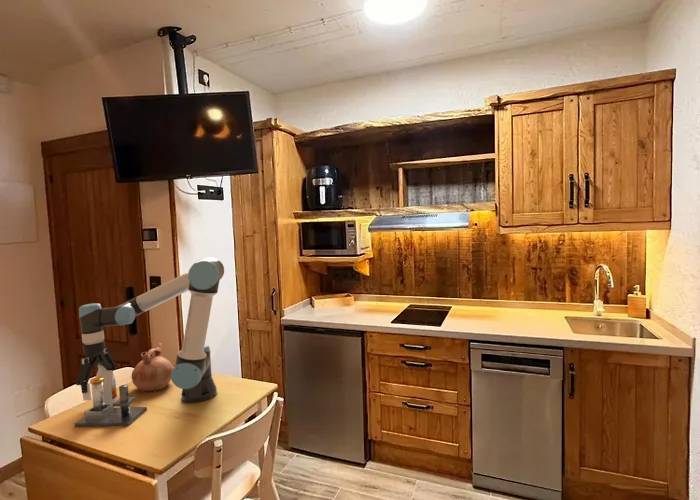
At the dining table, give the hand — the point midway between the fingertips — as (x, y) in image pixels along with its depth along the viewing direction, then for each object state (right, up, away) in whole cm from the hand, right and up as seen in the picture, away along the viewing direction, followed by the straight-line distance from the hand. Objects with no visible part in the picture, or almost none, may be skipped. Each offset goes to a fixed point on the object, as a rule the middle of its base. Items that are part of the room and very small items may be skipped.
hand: (99, 392), depth 159 cm
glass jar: (0, -10, +1) cm, 10 cm away
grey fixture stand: (+5, -11, 0) cm, 12 cm away
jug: (+7, -9, +30) cm, 32 cm away
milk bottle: (-5, -11, +14) cm, 18 cm away
